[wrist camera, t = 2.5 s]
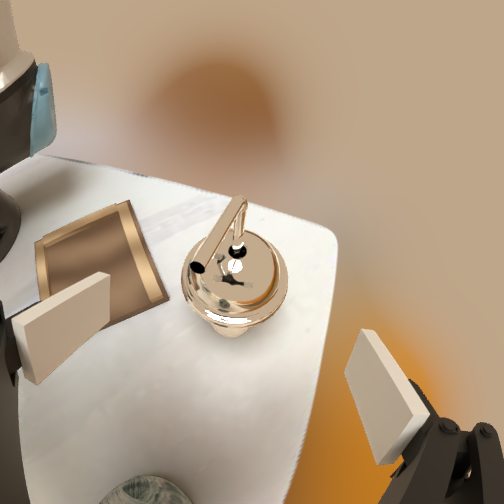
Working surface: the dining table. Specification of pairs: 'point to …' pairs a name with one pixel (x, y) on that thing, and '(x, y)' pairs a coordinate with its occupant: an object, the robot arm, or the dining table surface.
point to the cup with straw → (234, 274)
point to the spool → (146, 492)
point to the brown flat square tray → (102, 260)
